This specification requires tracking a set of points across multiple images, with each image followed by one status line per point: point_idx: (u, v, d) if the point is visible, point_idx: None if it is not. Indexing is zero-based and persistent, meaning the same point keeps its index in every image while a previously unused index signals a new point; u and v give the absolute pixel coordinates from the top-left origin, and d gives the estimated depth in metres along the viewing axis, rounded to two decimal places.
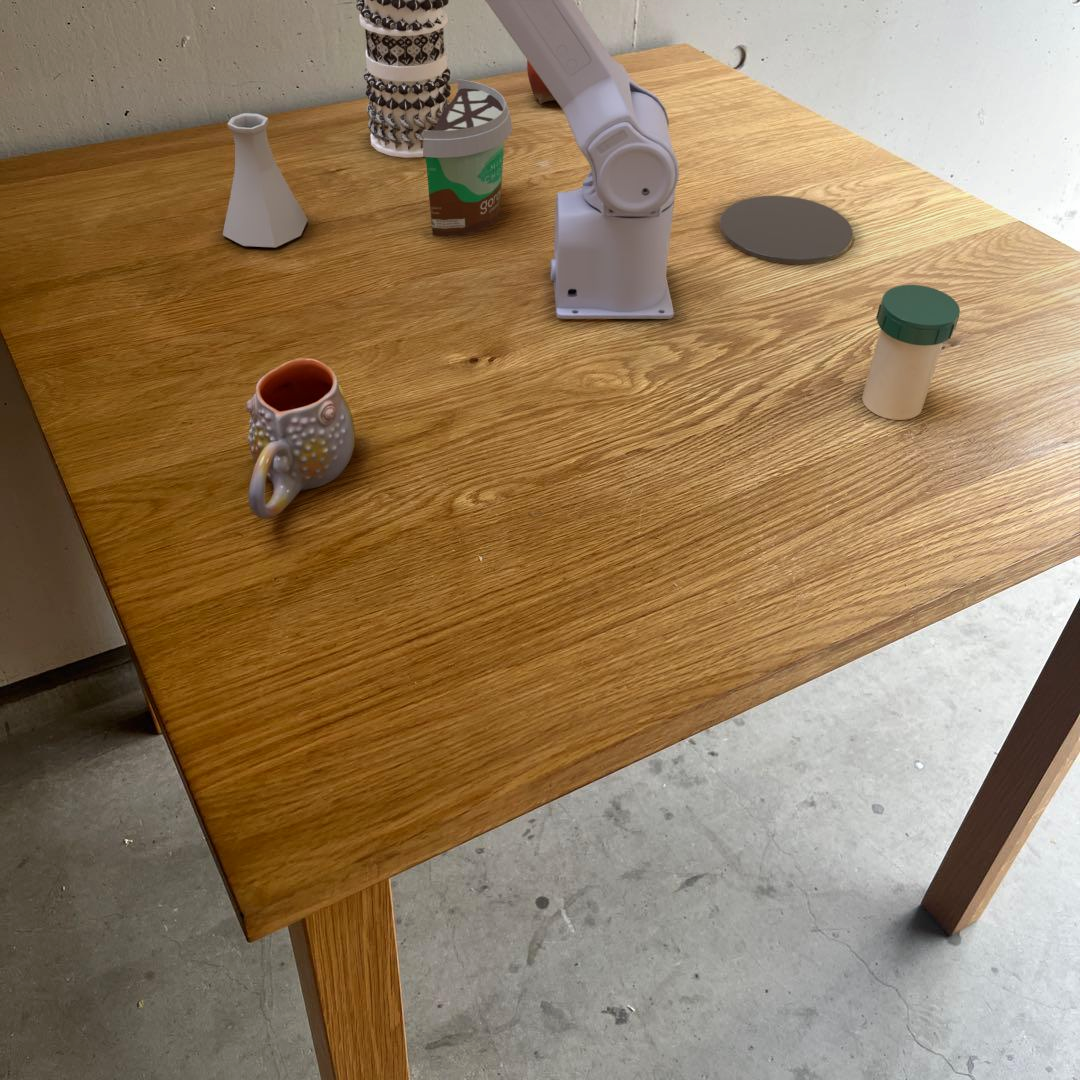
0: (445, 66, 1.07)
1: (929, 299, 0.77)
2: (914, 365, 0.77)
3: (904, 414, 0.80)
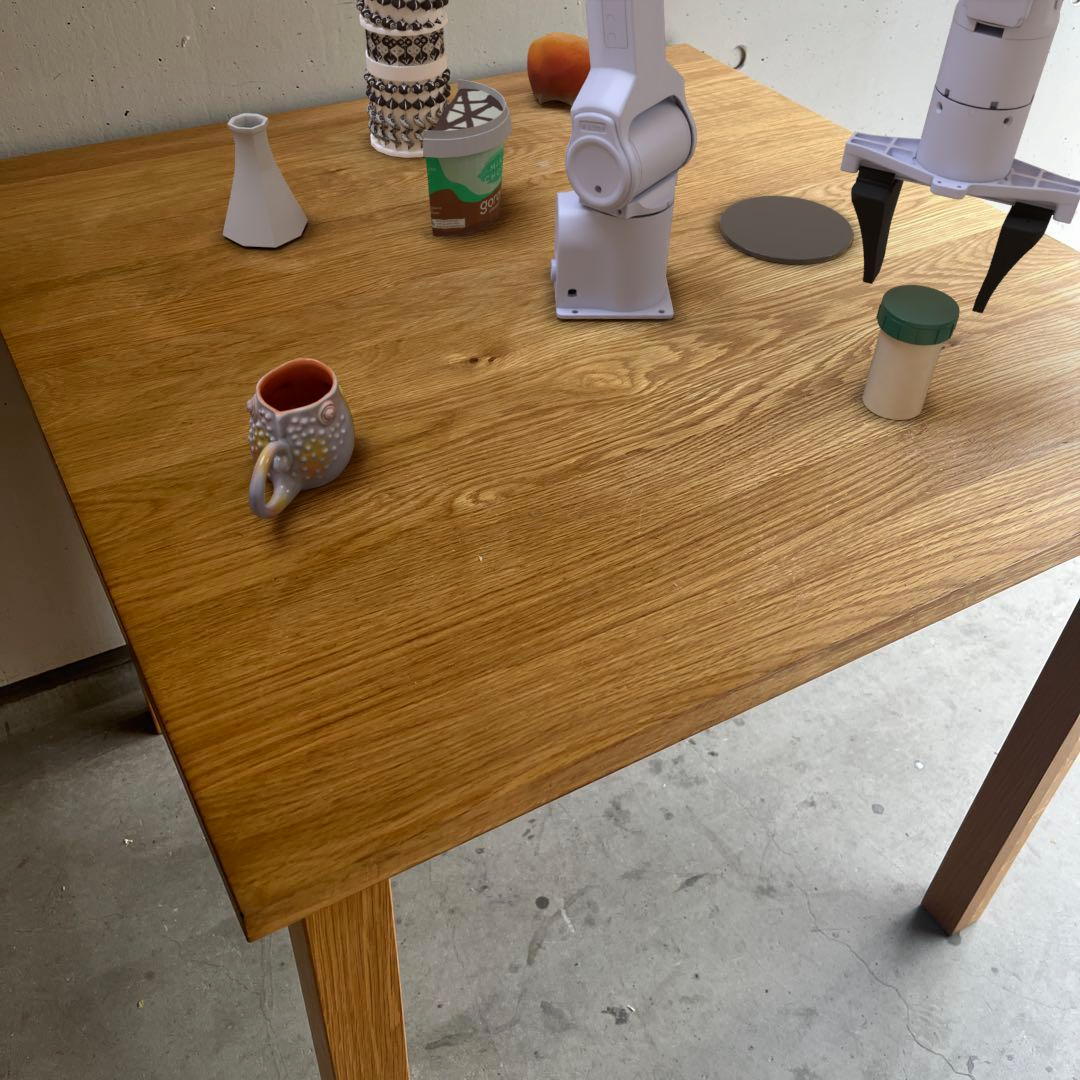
0: (445, 66, 1.07)
1: (929, 299, 0.77)
2: (914, 365, 0.77)
3: (904, 414, 0.80)
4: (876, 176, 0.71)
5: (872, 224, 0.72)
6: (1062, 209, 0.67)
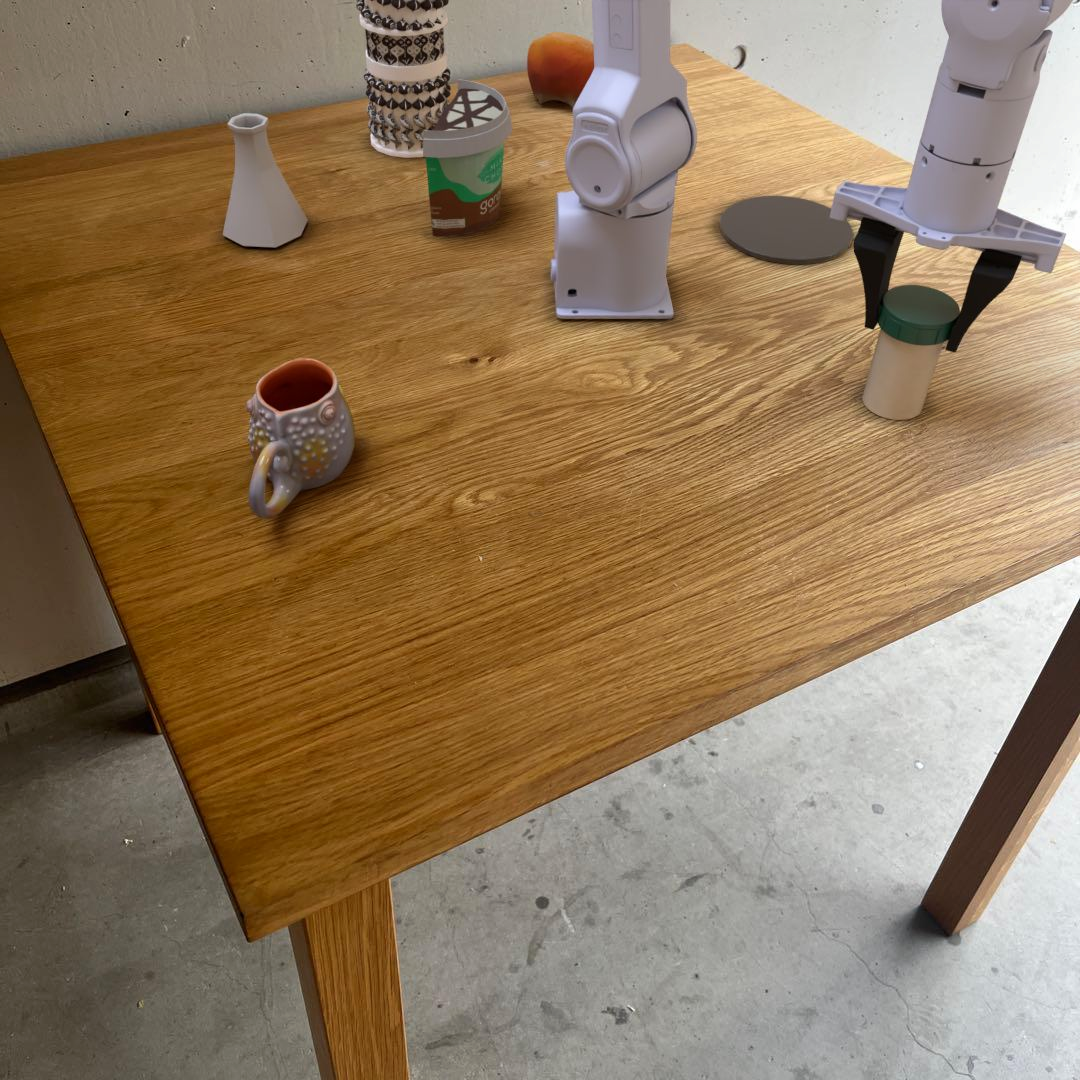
0: (445, 66, 1.07)
1: (929, 299, 0.77)
2: (914, 365, 0.77)
3: (904, 414, 0.80)
4: (878, 227, 0.73)
5: (874, 273, 0.74)
6: (1043, 259, 0.69)
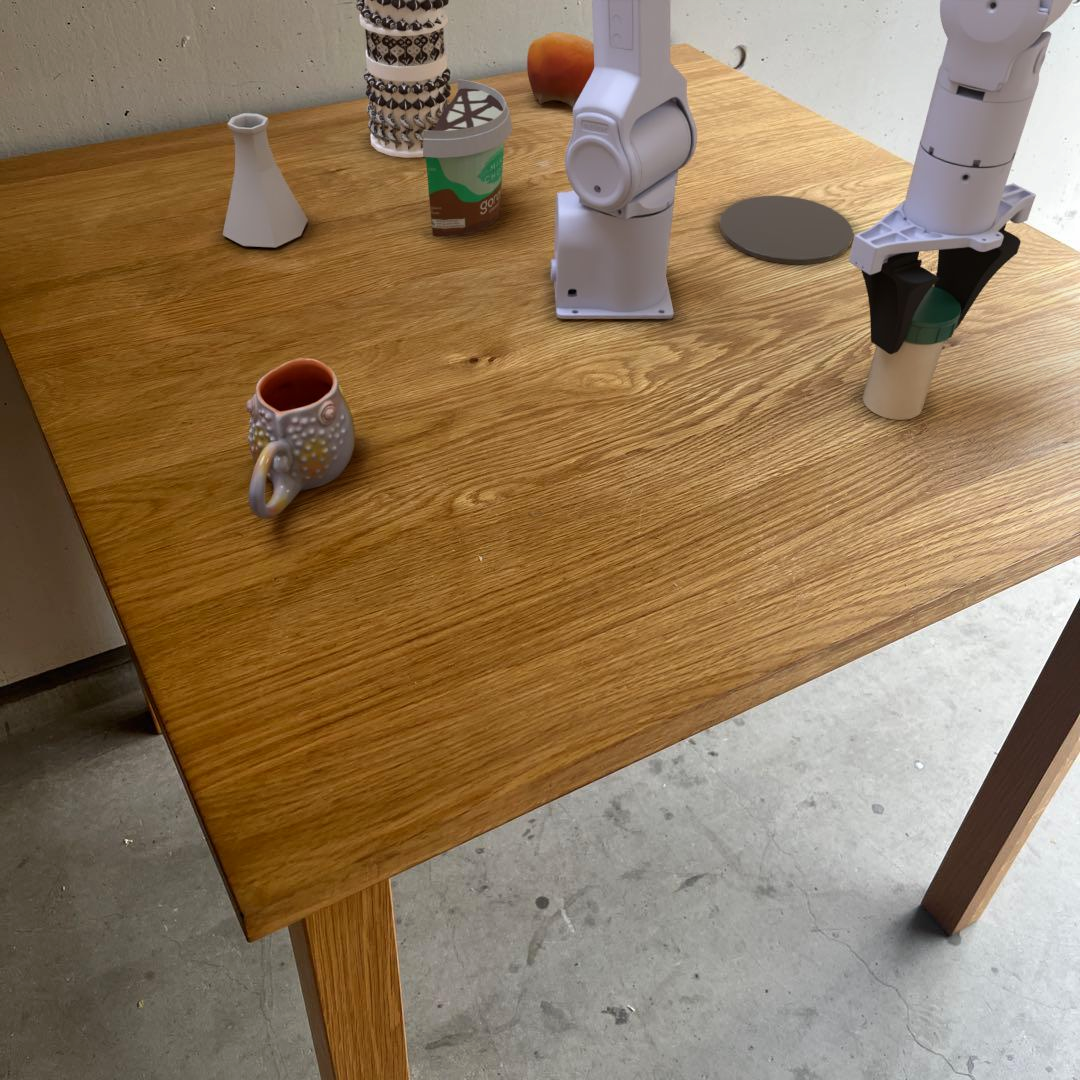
0: (445, 66, 1.07)
1: None
2: (919, 365, 0.77)
3: (908, 413, 0.80)
4: (906, 259, 0.70)
5: (916, 301, 0.72)
6: (1024, 212, 0.74)
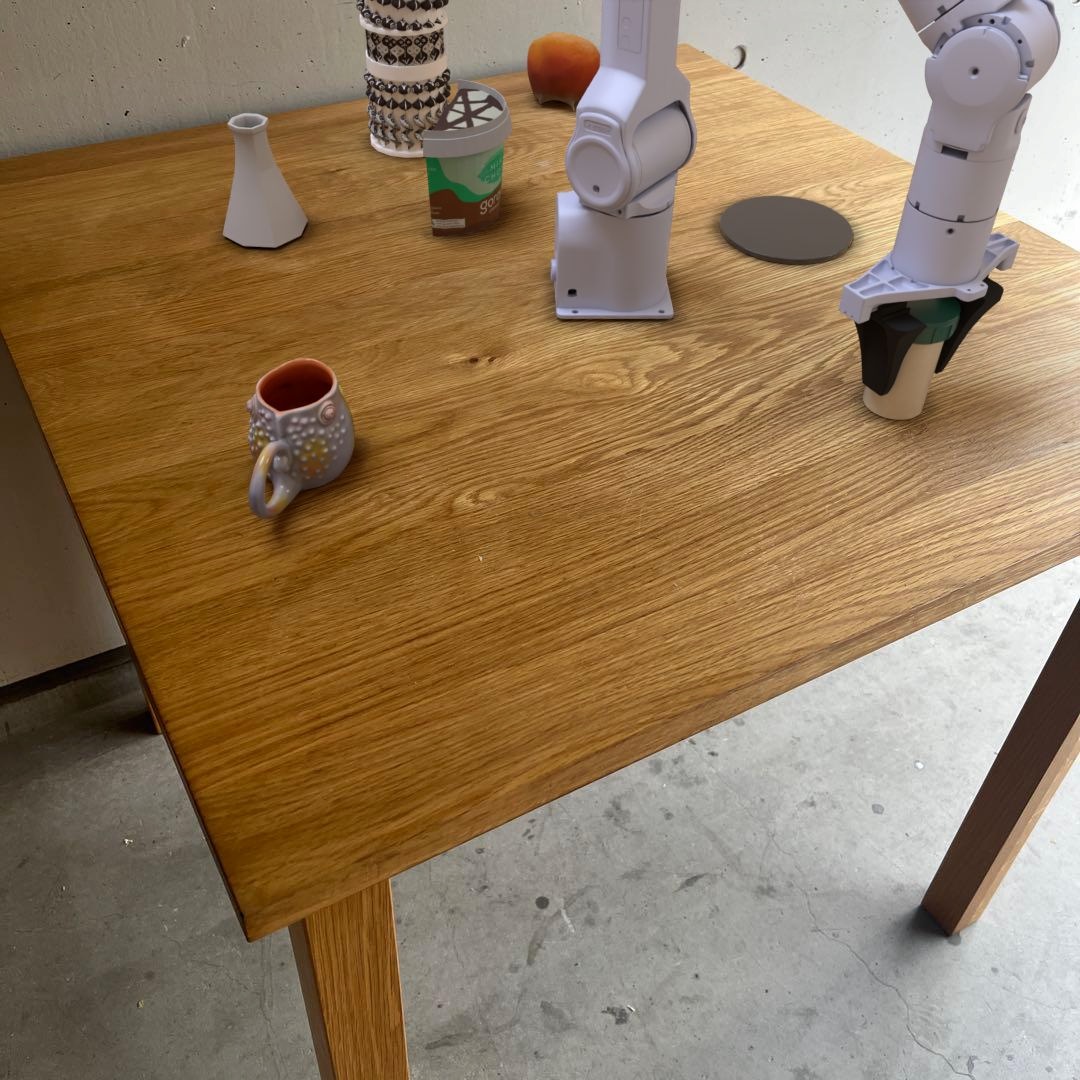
0: (445, 66, 1.07)
1: None
2: (919, 365, 0.77)
3: (908, 413, 0.80)
4: (895, 307, 0.73)
5: (905, 347, 0.74)
6: (1008, 260, 0.76)
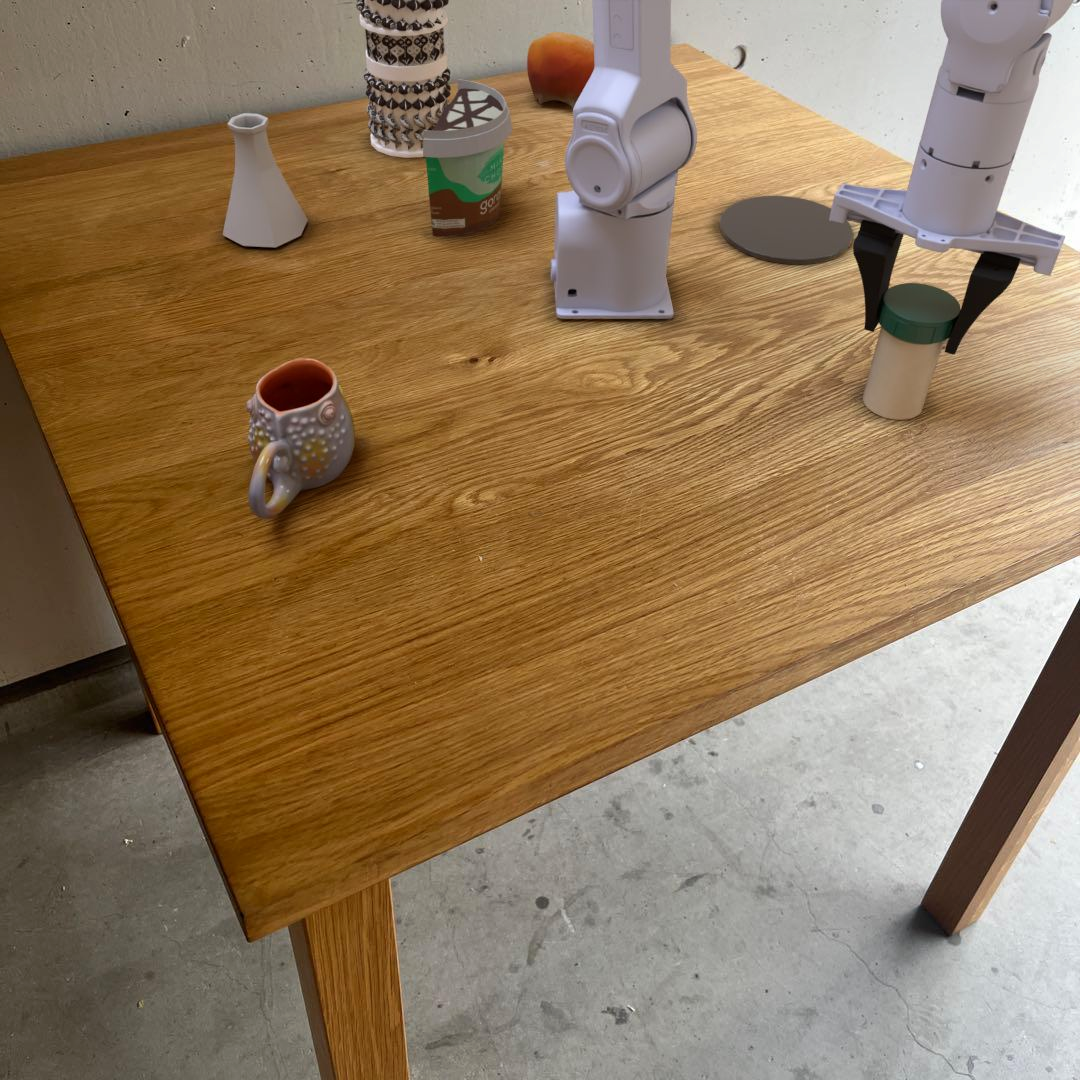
0: (445, 66, 1.07)
1: (916, 294, 0.77)
2: (919, 365, 0.77)
3: (908, 413, 0.80)
4: (877, 230, 0.73)
5: (873, 276, 0.74)
6: (1042, 262, 0.69)
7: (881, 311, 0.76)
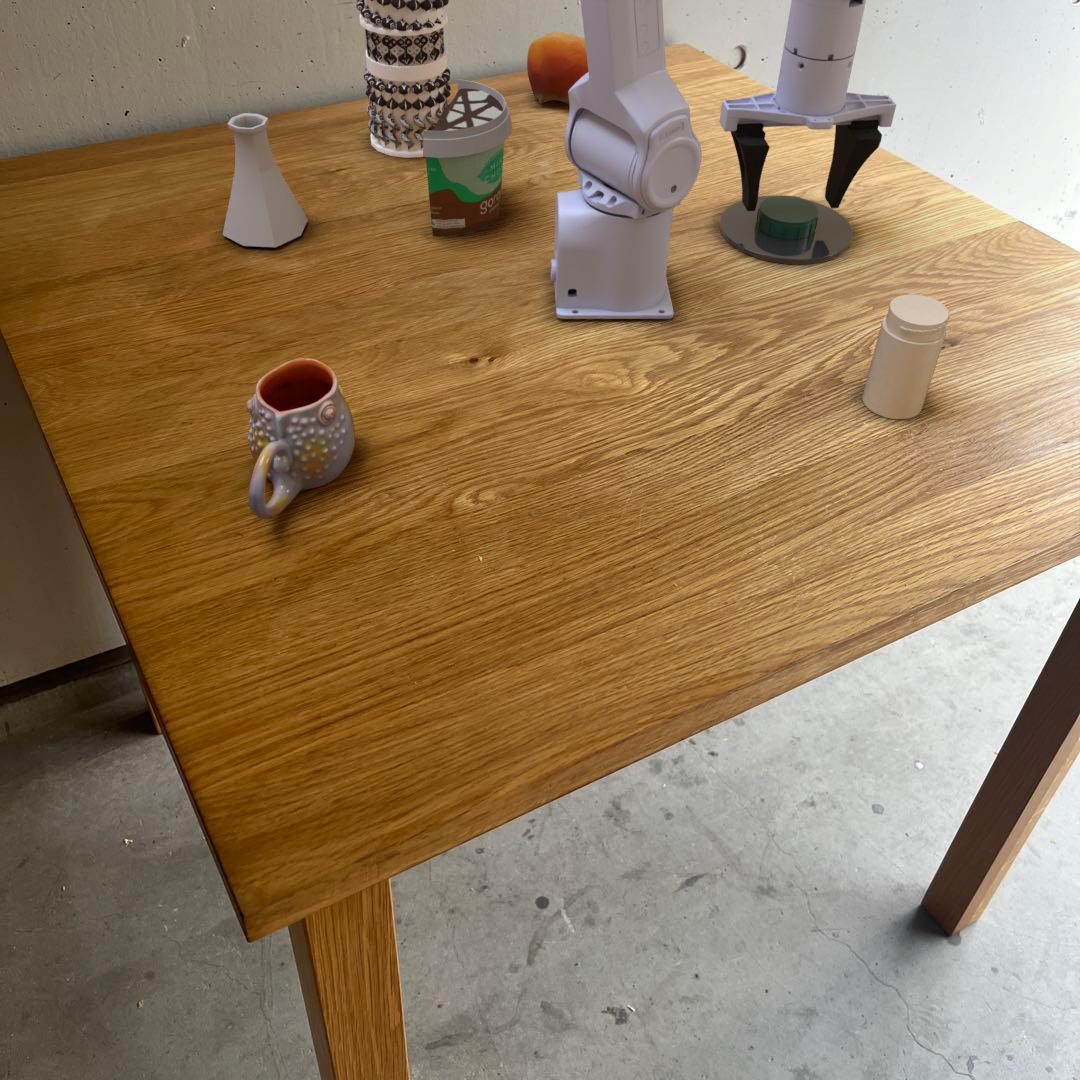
0: (445, 66, 1.07)
1: (780, 204, 1.00)
2: (924, 364, 0.77)
3: (913, 411, 0.80)
4: (750, 128, 0.92)
5: (757, 165, 0.94)
6: (885, 117, 0.93)
7: (765, 224, 0.98)
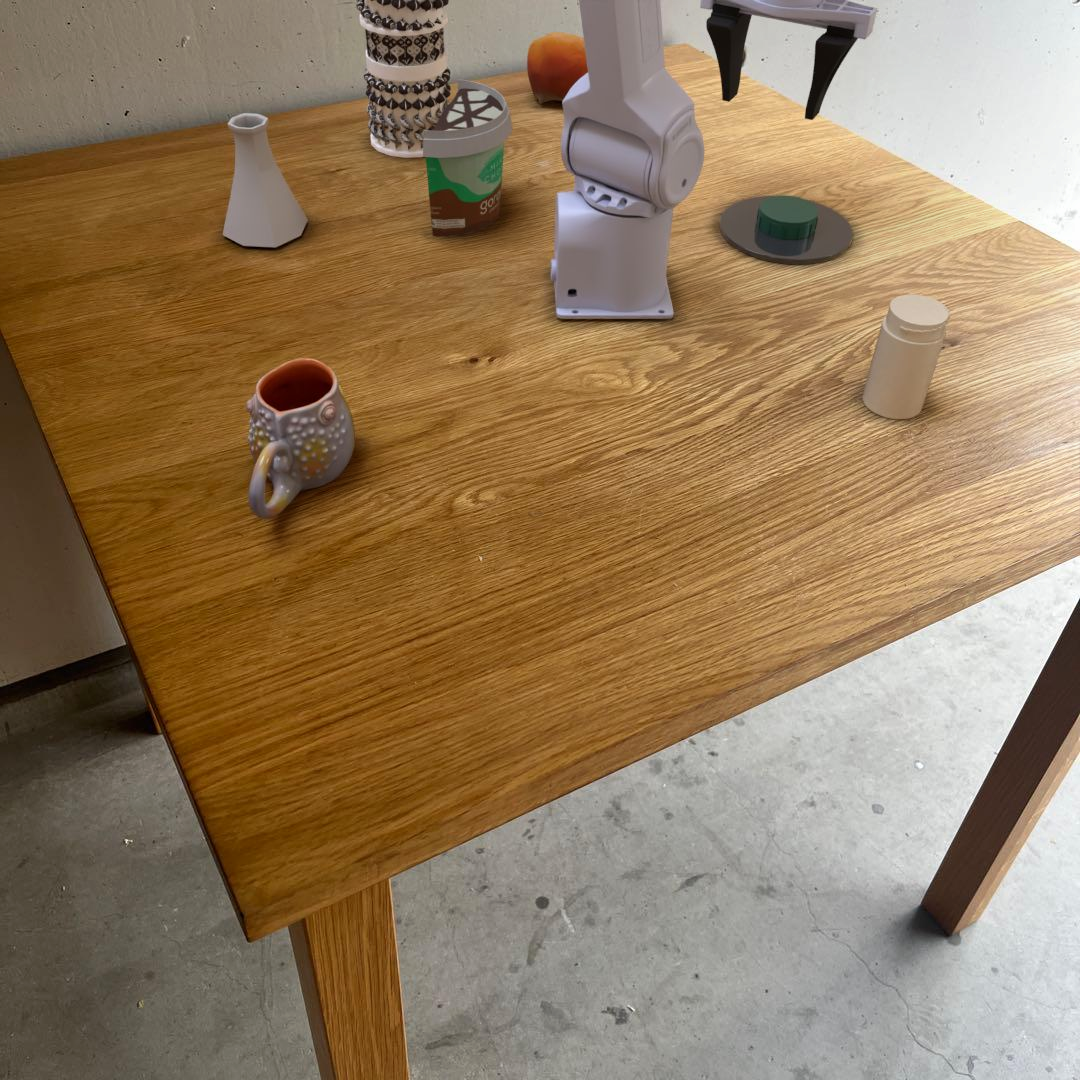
0: (445, 66, 1.07)
1: (780, 204, 1.00)
2: (924, 364, 0.77)
3: (913, 411, 0.80)
4: None
5: None
6: None
7: (765, 224, 0.98)
